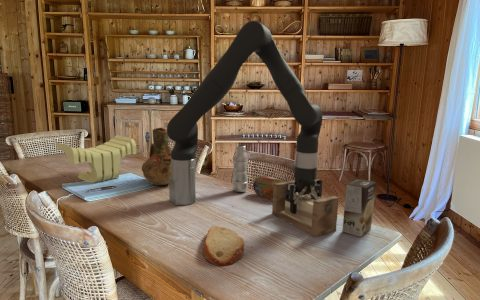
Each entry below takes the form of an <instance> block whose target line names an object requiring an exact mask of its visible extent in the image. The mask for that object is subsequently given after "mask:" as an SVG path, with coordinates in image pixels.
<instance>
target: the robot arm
mask: <svg viewBox="0 0 480 300" xmlns="http://www.w3.org/2000/svg"><path fill="white" fill-rule="evenodd" d="M253 53H255V55H257V56H258V58H260V60H261V61H262V62H263V64H265V66H266V69H268V71H269V73H270V76H271V78H272V81H273V83H274V85H275V86H276V88H277V90H278V91H279V93H280V94H281V95H282V97H283V98H284V100H285V101H286V102H287V105H288V107H289V110H290V112H291V115H292V116H293V118H294V120H295V121H296V122H297V124H299V125H300V132H299V133H298V135H297V137H296V144H295V145H296V147H295V155H294V163H293V164H294V166H293V168H294V169H293V178H294V181H295V183H294V184H289V183H288V184H287V187H286V197H285V200H286V201H288V202H290V212H291V213H292V214H296V212H297V204H296V203H297V201H298V200H299V199H300V198H301V197H302V196H307V195H309V196H310V197H309V198H311V199H313V200H318V198H320V197H322V195H323V180H321V179H319V178H318V165H319V164H318V163H319V154H318V152H319V138H320V134H321V133H320V132H321V130H322V124H323V110H322V109H321V107H320V106H319V105H317V104H316V103H310V100H309V99H308V97H307V96H306V93H307V92H306V90H305V87H304V86H303V84H302V83H301V82H300V79H299V78H298V77H297V75H296V74H295V72H294V71H293V70H292V69H291V67H290V66H289V64H288V63H287V62H286V60H285V59H284V56H283V55H282V54H281V52H280V50H279V48H278V46H277V44H276V41H275V39H274V37H273V35H272V33H271V31H270V28H268V27H267V26H265V25H264V24H263V23H262V22H260V21H257V20H250V21H248V22H246V23H245V24H244V25H243V26H242V27H241V28H240V30H239V31H238V32H237V34H236V36H235V37H234V39H233V40H232V42H231V43H230V45H229V47H228V48H227V50H226V51H225V52H224V54H223V55H222V56H221V58H220V59H219V60H218V61H217V63H216V64H215V65H214V66H213V67H212V69H211V70H210V71H209V72H208V74H207V75H206V76H205V77H204V78H203V80H202V81H201V83H200V84H199V85H198V86H197V88H196V89H195V91H194V92H193V93H192V95H191V96H190V97H189V99H188V101H187V102H186V103H185V104H184V105H183V106H182V108H180V109H179V111H177V112H176V114H175V115H173V116H172V118H171V119H170V120H169V121H168V123H167V126H166V130H167V135H168V139H170V140H171V141H173V142H174V146H173V148H171V150H172V151H171V177H169V184H168V186H169V187H168V188H169V189H168V191H169V192H168V193H169V195H168V196H169V197H168V198H169V199H168V200H169V202H171V203H172V204H173V205H174V206H188V205H192V204H194V203H195V202H196V153H197V151H198V145H199V144H198V140H199V128H198V122H199V120H200V119H201V118H202V117H204V115H205V114H206V113H208V112H209V111H211V110H212V109H213V108H214V107H215V106H217V104H220V103H219V102H221V101H222V100H223V98H225V96H226V95H227V94H228V93H229V91H230V90H231V89H232V87H234V84H235V82H236V80H237V78H238V75H239V72H240V70H241V68H242V66H243V65H244V63H246V61H247V60H248V59H249V57H250V56H251V55H252V54H253ZM294 188H295V189H294ZM296 193H298V194H296ZM289 196H290V197H289ZM295 197H296V198H295ZM294 198H295V199H294Z"/></svg>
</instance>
